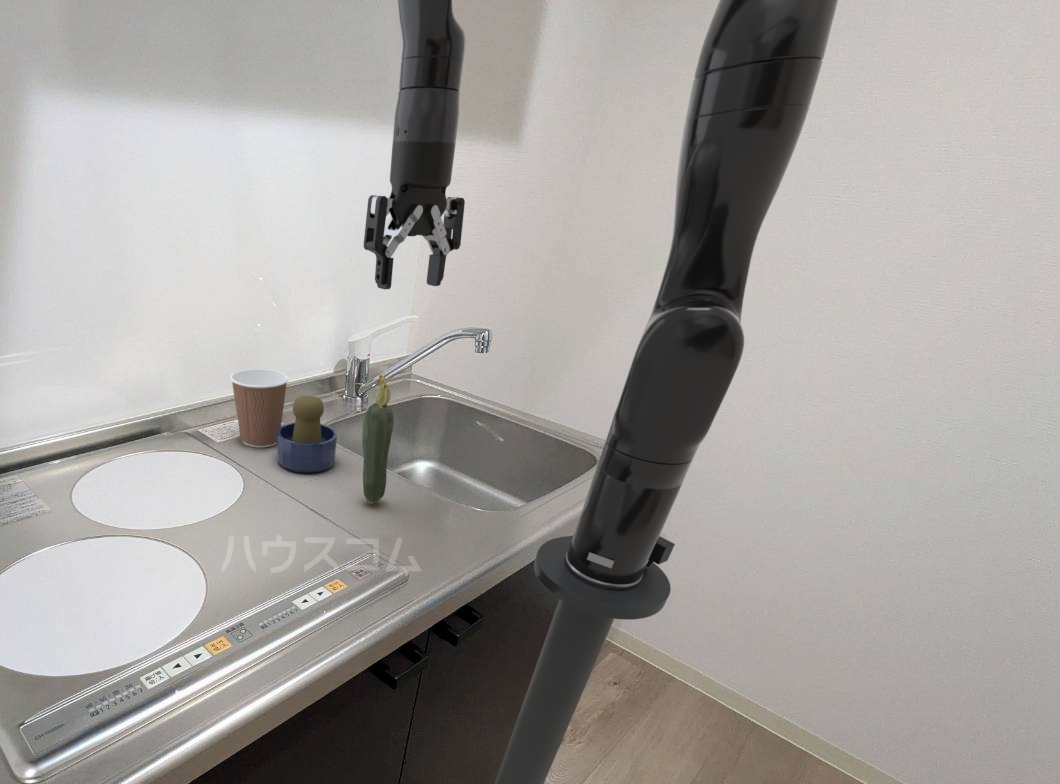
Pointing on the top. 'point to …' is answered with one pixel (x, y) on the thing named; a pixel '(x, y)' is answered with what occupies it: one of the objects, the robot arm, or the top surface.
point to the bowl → (306, 450)
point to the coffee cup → (259, 405)
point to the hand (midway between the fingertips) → (409, 286)
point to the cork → (307, 419)
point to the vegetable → (377, 443)
